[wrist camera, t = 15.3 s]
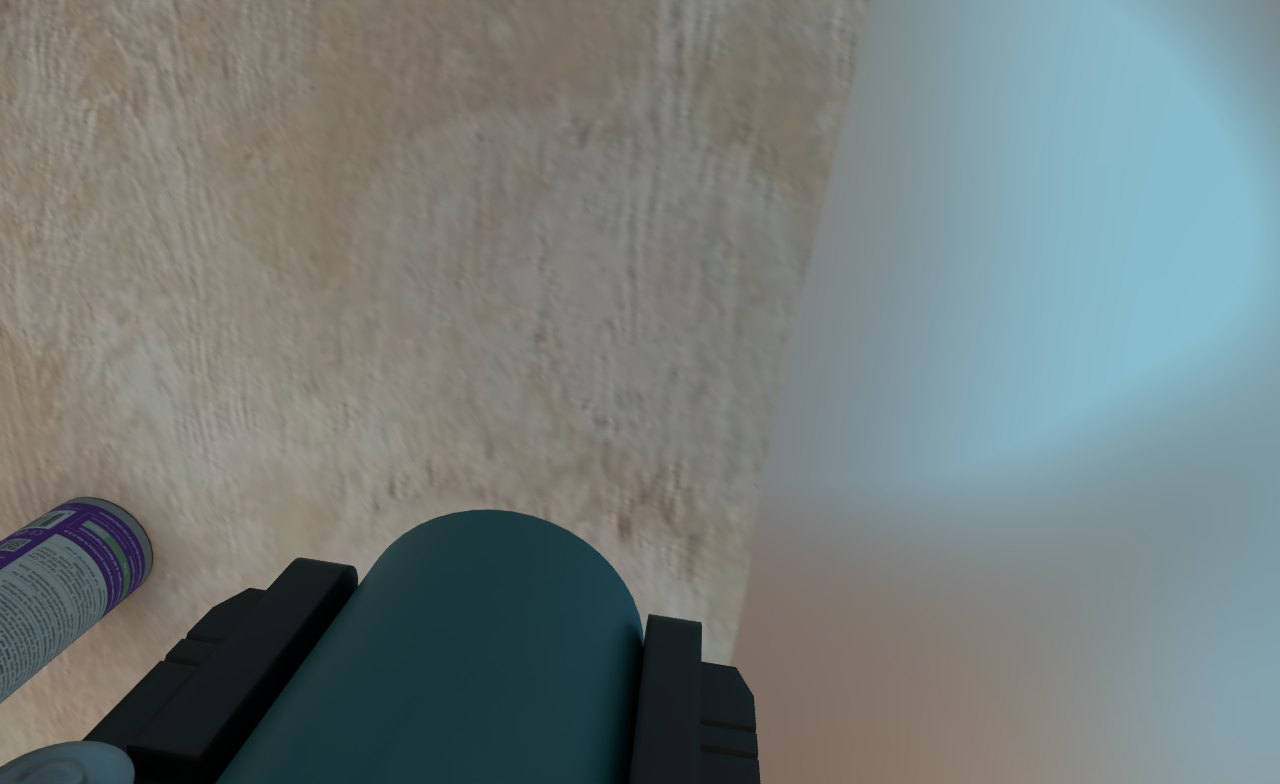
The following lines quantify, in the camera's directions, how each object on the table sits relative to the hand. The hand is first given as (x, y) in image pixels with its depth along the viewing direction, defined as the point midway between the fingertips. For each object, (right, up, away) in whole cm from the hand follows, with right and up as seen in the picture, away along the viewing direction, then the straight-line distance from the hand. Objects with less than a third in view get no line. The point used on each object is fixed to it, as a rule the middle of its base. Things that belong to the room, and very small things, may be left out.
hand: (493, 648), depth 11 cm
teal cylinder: (0, 0, 0) cm, 0 cm away
